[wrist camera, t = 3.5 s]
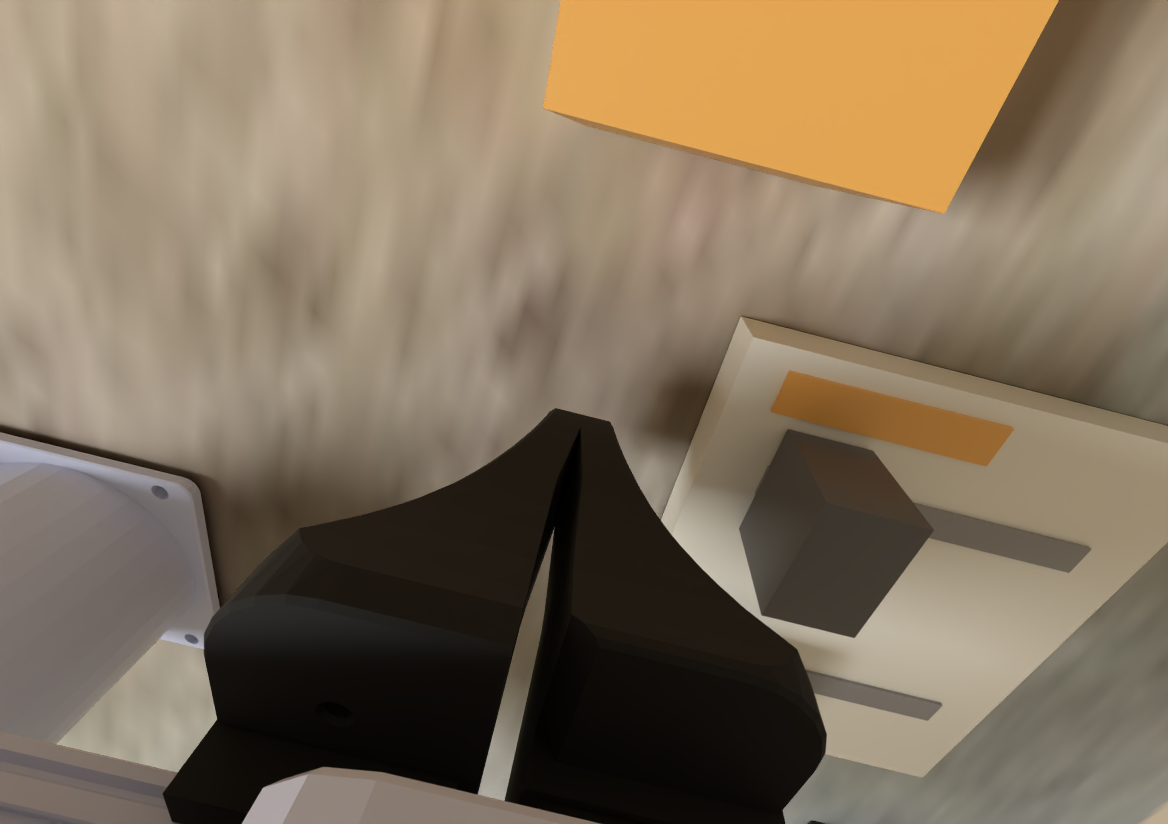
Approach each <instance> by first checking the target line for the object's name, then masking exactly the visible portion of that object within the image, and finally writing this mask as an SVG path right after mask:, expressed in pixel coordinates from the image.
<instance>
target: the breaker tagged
mask: <svg viewBox="0 0 1168 824" xmlns="http://www.w3.org/2000/svg"><path fill="white" fill-rule="evenodd" d="M739 531H740V535H741V539H742V542H743V546H744V550H745V554H746V558H747V562H748V566H749V569H750V573H751V577H752V581H753V585H754V589H755V593H756V596H757V600H758V604H759V608H760V612H761V615H762V616H766V617H770V618H774V619H778V620H782V621H786V622H790V623H795V624H799V625H803V626H807V627H811V628H815V629H819V630H823V631H827V632H831V633H835V634H839V635H843V636H848V637H852V638H855V637H856V636H857V634H858V633H859V632H860V630H861V629H862V628H863V626H864V625H865V623H866V622H867V621H868V619H869V618H870V617H871V615H872V614H873V613H874V611H875V610H876V609H877V607H878V606H879V604H880V603H881V602H882V600H883V599H884V598H885V596H886V595H887V594H888V592H889V591H890V590H891V588H892V587H893V585H894V584H895V583H896V581H897V580H898V579H899V577H900V576H901V575H902V573H903V572H904V571H905V569H906V568H907V566H908V565H909V564H910V562H911V561H912V560H913V558H914V557H915V556H916V554H917V553H918V552H919V550H920V549H921V547H922V546H923V545H924V543H925V542H926V541H927V539H928V538H929V537H930V535H931V534H932V533H933V531H934V529H933V528H932V526H931V525H930V524H929V523H928V521H927V520H926V519H925V517H924V516H923V515H922V513H921V512H920V511H919V510H918V508H917V507H916V506H915V504H914V503H913V502H912V500H911V499H910V498H909V497H908V495H907V494H906V493H905V491H904V490H903V489H902V487H901V486H900V485H899V484H898V482H897V481H896V480H895V478H894V477H893V476H892V474H891V473H890V472H889V471H888V469H887V468H886V467H885V465H884V464H883V463H882V461H881V460H880V459H879V458H878V456H877V455H876V454H875V452H874V451H873V450H869V449H865V448H861V447H857V446H853V445H849V444H845V443H841V442H837V441H833V440H829V439H825V438H822V437H818V436H814V435H810V434H806V433H802V432H798V431H794V430H790V429H788V430H787V432H786V434H785V436H784V438H783V440H782V442H781V444H780V446H779V448H778V450H777V452H776V454H775V456H774V458H773V460H772V462H771V464H770V466H769V468H768V470H767V472H766V474H765V476H764V479H763V481H762V483H761V485H760V487H759V489H758V491H757V493H756V495H755V497H754V499H753V501H752V503H751V505H750V507H749V509H748V511H747V513H746V515H745V517H744V519H743V521H742V523H741V525H740V527H739Z"/></svg>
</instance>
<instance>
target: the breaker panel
mask: <svg viewBox="0 0 1168 824" xmlns="http://www.w3.org/2000/svg"><path fill="white" fill-rule="evenodd" d="M788 429H790V430H794V431H798V432H802V433H806V434H810V435H814V436H818V437H822V438H825V439H829V440H833V441H837V442H841V443H845V444H849V445H853V446H857V447H861V448H865V449H869V450H873V451H874V452H875V454H876V455H877V456H878V458H879V459H880V460H881V461H882V463H883V464H884V465H885V467H886V468H887V469H888V471H889V472H890V473H891V474H892V476H893V477H894V478H895V480H896V481H897V482H898V484H899V485H900V486H901V487H902V489H903V490H904V491H905V493H906V494H907V495H908V497H909V498H910V499H911V500H912V502H913V503H914V504H915V506H916V507H917V508H918V510H919V511H920V512H921V513H922V515H923V516H924V517H925V519H926V520H927V521H928V523H929V524H930V525H931V526H932V528H933V529H934V531H933V533H932V534H931V535H930V537H929V538H928V539H927V541H926V542H925V543H924V545H923V546H922V547H921V549H920V550H919V552H918V553H917V554H916V556H915V557H914V558H913V560H912V561H911V562H910V564H909V565H908V566H907V568H906V569H905V571H904V572H903V573H902V575H901V576H900V577H899V579H898V580H897V581H896V583H895V584H894V585H893V587H892V588H891V590H890V591H889V592H888V594H887V595H886V596H885V598H884V599H883V600H882V602H881V603H880V604H879V606H878V607H877V609H876V610H875V611H874V613H873V614H872V615H871V617H870V618H869V619H868V621H867V622H866V623H865V625H864V626H863V628H862V629H861V630H860V632H859V633H858V634H857V636H856V637H855V638H852V637H848V636H843V635H839V634H835V633H831V632H827V631H823V630H819V629H815V628H811V627H807V626H803V625H799V624H795V623H790V622H786V621H782V620H778V619H774V618H770V617H766V616H762V615H761V612H760V608H759V604H758V600H757V596H756V593H755V589H754V585H753V581H752V577H751V573H750V569H749V566H748V562H747V558H746V554H745V550H744V546H743V542H742V539H741V535H740V531H739V527H740V525H741V523H742V521H743V519H744V517H745V515H746V513H747V511H748V509H749V507H750V505H751V503H752V501H753V499H754V497H755V495H756V493H757V491H758V489H759V487H760V485H761V483H762V481H763V479H764V476H765V474H766V472H767V470H768V468H769V466H770V464H771V462H772V460H773V458H774V456H775V454H776V452H777V450H778V448H779V446H780V444H781V442H782V440H783V438H784V436H785V434H786V432H787V430H788ZM661 521H662V523H663V524H664V525H665V527H666V528H667V529H668V531H669V532H670V533H671V535H672V536H673V537H674V538H675V539H676V541H677V542H678V543H679V544H680V545H681V547H682V548H683V549H684V550H685V551H686V552H687V553H688V554H689V555H690V556H691V557H692V559H693V560H694V561H695V562H696V563H697V564H698V565H699V566H700V567H701V568H702V569H703V570H704V571H705V572H706V573H707V574H708V575H709V576H710V577H711V578H712V579H713V580H714V581H715V582H716V583H717V584H718V585H719V586H720V587H721V588H723V589H724V590H725V591H726V592H727V593H728V594H729V595H730V596H731V597H733V598H734V599H735V600H736V601H737V602H738V603H739V604H740V605H741V606H743V607H744V608H745V609H746V610H747V611H749V612H750V613H751V614H753V615H754V616H755V617H756V618H758V619H759V620H760V621H762V622H763V623H764V624H765V625H767V626H768V627H769V628H771V629H772V630H773V631H775V632H776V633H777V634H778V635H780V636H781V637H782V638H784V639H785V640H786V641H787V642H789V643H790V644H791V645H793V646H794V647H795V648H796V649H797V650H798V652H799V655H800V657H801V660H802V662H803V665H804V667H805V670H806V672H807V675H808V677H809V680H810V682H811V685H812V688H813V691H814V694H815V697H816V701H817V704H818V708H819V711H820V714H821V717H822V720H823V724H824V727H825V730H826V733H827V740H826V753H825V754H826V755H830V756H834V757H838V758H842V759H846V760H851V761H855V762H859V763H863V764H867V765H871V766H876V767H880V768H884V769H888V770H892V771H896V772H901V773H905V774H909V775H913V776H917V777H921V778H922V777H923V776H925V775H926V774H927V773H928V772H929V771H930V770H931V769H932V768H933V767H934V766H935V765H936V764H937V763H938V762H939V761H940V760H941V759H942V758H943V757H944V756H945V755H946V754H947V753H948V752H950V751H951V750H952V749H953V748H954V747H955V746H956V745H957V744H958V743H959V742H960V741H961V740H962V739H963V738H964V737H965V736H966V735H967V734H968V733H969V732H970V731H971V730H972V729H974V728H975V727H976V726H977V725H978V724H979V723H980V722H981V721H982V720H983V719H984V718H985V717H986V716H987V715H988V714H989V713H990V712H991V711H992V710H993V709H994V708H995V707H996V706H997V705H999V704H1000V703H1001V702H1002V701H1003V700H1004V699H1005V698H1006V697H1007V696H1008V695H1009V694H1010V693H1011V692H1012V691H1013V690H1014V689H1015V688H1016V687H1017V686H1018V685H1019V684H1020V683H1021V682H1023V681H1024V680H1025V679H1026V678H1027V677H1028V676H1029V675H1030V674H1031V673H1032V672H1033V671H1034V670H1035V669H1036V668H1037V667H1038V666H1039V665H1040V664H1041V663H1042V662H1043V661H1044V660H1045V659H1046V658H1048V657H1049V656H1050V655H1051V654H1052V653H1053V652H1054V651H1055V650H1056V649H1057V648H1058V647H1059V646H1060V645H1061V644H1062V643H1063V642H1064V641H1065V640H1066V639H1067V638H1068V637H1069V636H1070V635H1072V634H1073V633H1074V632H1075V631H1076V630H1077V629H1078V628H1079V627H1080V626H1081V625H1082V624H1083V623H1084V622H1085V621H1086V620H1087V619H1088V618H1089V617H1090V616H1091V615H1092V614H1093V613H1094V612H1095V611H1097V610H1098V609H1099V608H1100V607H1101V606H1102V605H1103V604H1104V603H1105V602H1106V601H1107V600H1108V599H1109V598H1110V597H1111V596H1112V595H1113V594H1114V593H1115V592H1116V591H1117V590H1118V589H1119V588H1121V587H1122V586H1123V585H1124V584H1125V583H1126V582H1127V581H1128V580H1129V579H1130V578H1131V577H1132V576H1133V575H1134V574H1135V573H1136V572H1137V571H1138V570H1139V569H1140V568H1141V567H1142V566H1143V565H1144V564H1146V563H1147V562H1148V561H1149V560H1150V559H1151V558H1152V557H1153V556H1154V555H1155V554H1156V553H1157V552H1158V551H1159V550H1160V549H1161V548H1162V547H1163V546H1164V545H1165V544H1166V543H1167V542H1168V426H1166V425H1162V424H1158V423H1154V422H1151V421H1147V420H1143V419H1139V418H1135V417H1131V416H1127V415H1123V414H1119V413H1115V412H1112V411H1108V410H1104V409H1100V408H1096V407H1092V406H1088V405H1084V404H1080V403H1077V402H1073V401H1069V400H1065V399H1061V398H1057V397H1053V396H1049V395H1045V394H1042V393H1038V392H1034V391H1030V390H1026V389H1022V388H1018V387H1014V386H1010V385H1006V384H1003V383H999V382H995V381H991V380H987V379H983V378H979V377H975V376H971V375H968V374H964V373H960V372H956V371H952V370H948V369H944V368H940V367H936V366H933V365H929V364H925V363H921V362H917V361H913V360H909V359H905V358H901V357H897V356H894V355H890V354H886V353H882V352H878V351H874V350H870V349H866V348H862V347H859V346H855V345H851V344H847V343H843V342H839V341H835V340H831V339H827V338H823V337H820V336H816V335H812V334H808V333H804V332H800V331H796V330H792V329H788V328H785V327H781V326H777V325H773V324H769V323H765V322H761V321H757V320H753V319H750V318H746V317H742V316H741V317H740V319H739V322H738V325H737V327H736V330H735V332H734V335H733V337H732V340H731V342H730V345H729V348H728V350H727V353H726V355H725V358H724V360H723V363H722V365H721V368H720V371H719V373H718V376H717V378H716V381H715V383H714V386H713V388H712V391H711V393H710V396H709V399H708V401H707V404H706V406H705V409H704V411H703V414H702V416H701V419H700V422H699V424H698V427H697V429H696V432H695V434H694V437H693V439H692V442H691V445H690V447H689V450H688V452H687V455H686V457H685V460H684V462H683V465H682V468H681V470H680V473H679V475H678V478H677V480H676V483H675V485H674V488H673V490H672V493H671V496H670V498H669V501H668V503H667V506H666V508H665V511H664V513H663V516H662V519H661Z"/></svg>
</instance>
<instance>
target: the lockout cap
mask: <svg viewBox="0 0 1168 824" xmlns="http://www.w3.org/2000/svg"><path fill="white" fill-rule="evenodd" d="M1058 1H1059V0H561V3H560V9H559V15H558V21H557V27H556V33H555V39H554V46H553V52H552V58H551V64H550V70H549V76H548V82H547V88H546V94H545V100H544V106H543V109H546V110H548V111H551V112H553V113H556V114H558V115H561V116H563V117H566V118H568V119H571V120H573V121H575V122H578V123H580V124H583V125H586V126H590V127H594V128H597V129H601V130H605V131H609V132H613V133H616V134H620V135H624V136H628V137H632V138H635V139H639V140H643V141H647V142H651V143H654V144H658V145H662V146H666V147H670V148H673V149H677V150H681V151H685V152H689V153H692V154H696V155H700V156H704V157H708V158H712V159H715V160H719V161H723V162H727V163H731V164H734V165H738V166H742V167H746V168H750V169H753V170H757V171H761V172H765V173H769V174H772V175H776V176H780V177H784V178H788V179H791V180H795V181H799V182H803V183H807V184H810V185H814V186H818V187H823V188H827V189H832V190H837V191H841V192H846V193H850V194H855V195H860V196H864V197H869V198H874V199H878V200H883V201H887V202H892V203H897V204H901V205H906V206H910V207H915V208H920V209H924V210H929V211H933V212H938V213H943V214H944V213H945V211H946V209H947V208H948V206H949V204H950V202H951V200H952V198H953V196H954V195H955V193H956V191H957V189H958V187H959V185H960V183H961V182H962V180H963V178H964V176H965V174H966V172H967V170H968V169H969V167H970V165H971V163H972V161H973V159H974V157H975V155H976V154H977V152H978V150H979V148H980V146H981V144H982V142H983V141H984V139H985V137H986V135H987V133H988V131H989V129H990V128H991V126H992V124H993V122H994V120H995V118H996V116H997V115H998V113H999V111H1000V109H1001V107H1002V105H1003V103H1004V102H1005V100H1006V98H1007V96H1008V94H1009V92H1010V90H1011V89H1012V87H1013V85H1014V83H1015V81H1016V79H1017V77H1018V75H1019V74H1020V72H1021V70H1022V68H1023V66H1024V64H1025V62H1026V61H1027V59H1028V57H1029V55H1030V53H1031V51H1032V49H1033V48H1034V46H1035V44H1036V42H1037V40H1038V38H1039V36H1040V35H1041V33H1042V31H1043V29H1044V27H1045V25H1046V23H1047V22H1048V20H1049V18H1050V16H1051V14H1052V12H1053V10H1054V9H1055V7H1056V5H1057V3H1058Z"/></svg>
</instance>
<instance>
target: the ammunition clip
mask: <svg viewBox="0 0 1168 824" xmlns="http://www.w3.org/2000/svg"><path fill="white" fill-rule="evenodd" d="M809 824H824V823H820V822H816V821H811V822H810V823H809Z"/></svg>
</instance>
